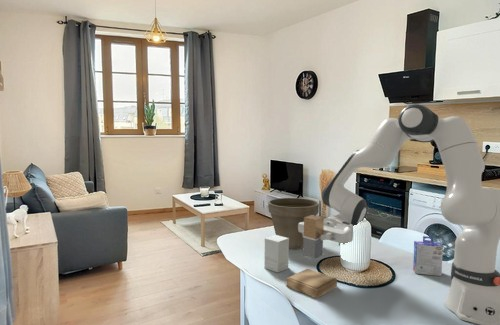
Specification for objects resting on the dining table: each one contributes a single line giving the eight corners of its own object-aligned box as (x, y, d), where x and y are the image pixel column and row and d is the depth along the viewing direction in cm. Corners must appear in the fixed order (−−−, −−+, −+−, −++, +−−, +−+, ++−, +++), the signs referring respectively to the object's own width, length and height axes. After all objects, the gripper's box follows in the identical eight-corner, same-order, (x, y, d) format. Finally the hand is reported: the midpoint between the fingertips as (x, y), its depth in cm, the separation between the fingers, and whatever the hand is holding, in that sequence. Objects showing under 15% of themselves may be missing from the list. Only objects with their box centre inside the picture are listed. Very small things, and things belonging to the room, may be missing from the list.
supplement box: (289, 268, 143) (289, 238, 142) (277, 273, 138) (278, 241, 137) (275, 263, 148) (275, 234, 147) (263, 268, 143) (264, 237, 142)
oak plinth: (336, 286, 127) (337, 277, 126) (316, 298, 117) (317, 289, 117) (307, 276, 136) (307, 267, 135) (286, 286, 126) (286, 277, 126)
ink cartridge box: (437, 271, 143) (440, 236, 142) (442, 276, 138) (444, 240, 136) (411, 268, 145) (414, 234, 144) (415, 274, 140) (417, 238, 138)
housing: (323, 255, 126) (324, 217, 124) (314, 259, 122) (316, 220, 121) (310, 251, 129) (312, 214, 128) (302, 255, 126) (303, 217, 124)
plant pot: (256, 243, 175) (257, 200, 173) (289, 234, 191) (290, 195, 189) (295, 257, 156) (296, 209, 154) (327, 245, 173) (329, 202, 171)
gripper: (310, 215, 141) (289, 221, 131) (357, 225, 127) (337, 233, 117) (309, 230, 142) (288, 237, 132) (356, 242, 127) (336, 251, 118)
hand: (311, 235), depth 124 cm, fingers closed on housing, 5 cm apart
